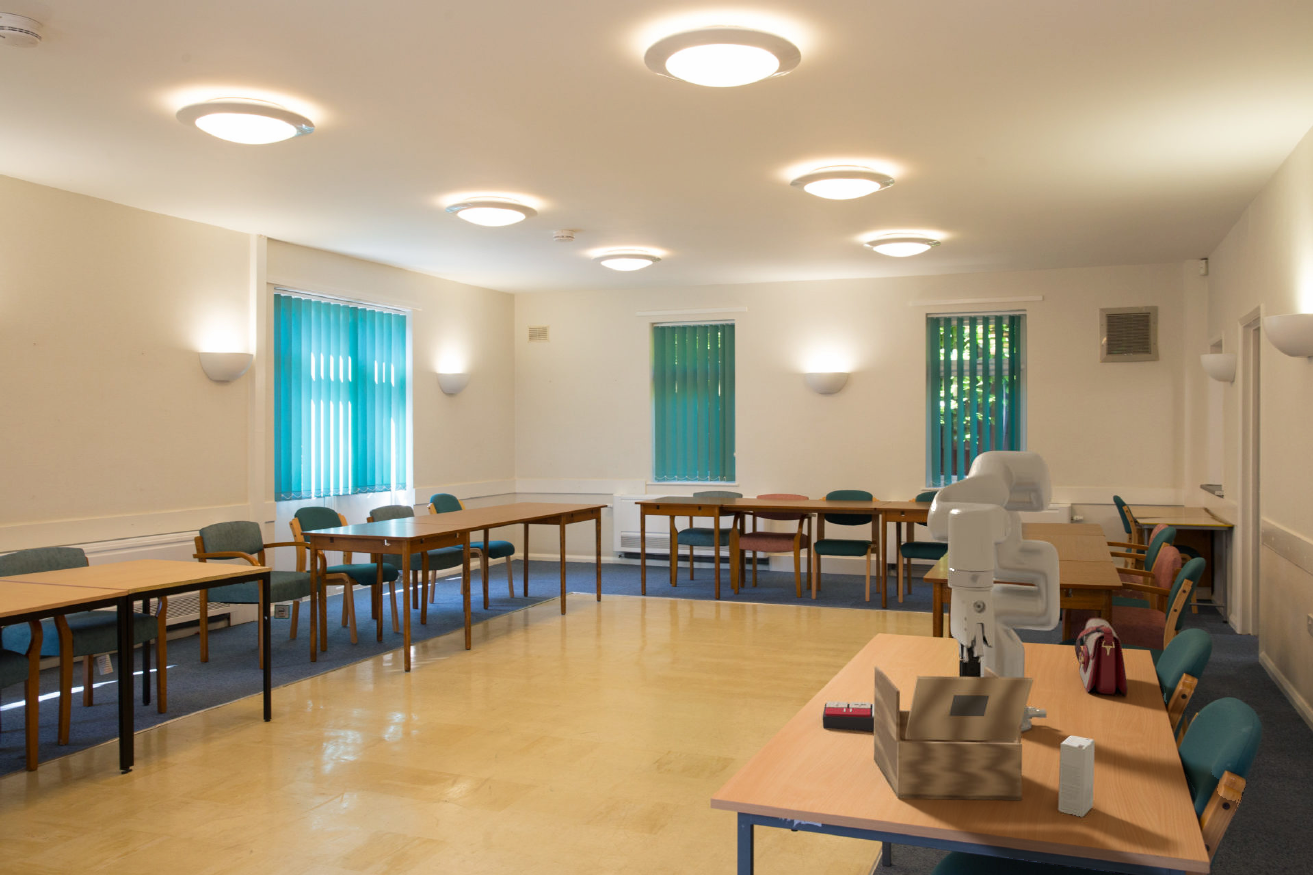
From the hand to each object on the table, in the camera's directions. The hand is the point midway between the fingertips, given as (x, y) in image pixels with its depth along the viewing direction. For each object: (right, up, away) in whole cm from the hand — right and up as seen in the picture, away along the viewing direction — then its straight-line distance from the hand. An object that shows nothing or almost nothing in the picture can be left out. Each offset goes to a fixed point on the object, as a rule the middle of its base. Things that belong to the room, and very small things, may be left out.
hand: (969, 683), depth 161 cm
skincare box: (+19, -22, 0) cm, 29 cm away
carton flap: (0, -5, +1) cm, 5 cm away
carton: (0, -22, +15) cm, 26 cm away
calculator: (-9, -22, +48) cm, 54 cm away
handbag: (+62, -23, +83) cm, 106 cm away
